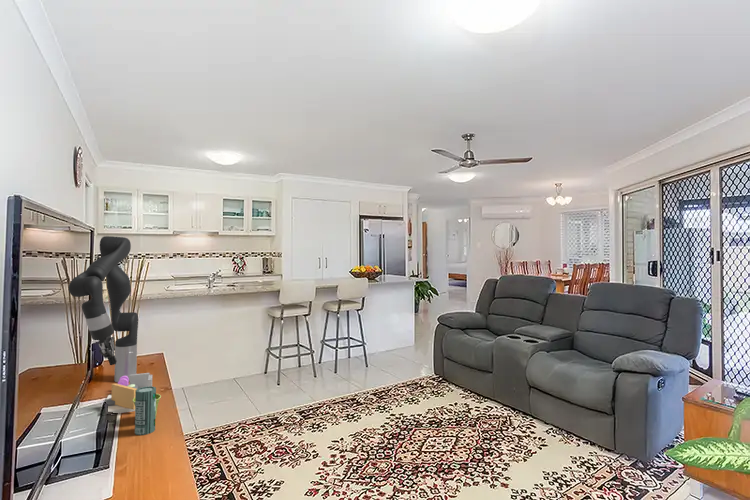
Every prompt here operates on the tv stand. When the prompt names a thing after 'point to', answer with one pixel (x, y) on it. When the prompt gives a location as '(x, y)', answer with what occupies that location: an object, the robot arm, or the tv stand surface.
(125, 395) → the tan upright panel
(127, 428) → the tv stand surface
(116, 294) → the robot arm
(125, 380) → the bracket
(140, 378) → the plate
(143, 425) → the can
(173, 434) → the tv stand surface
